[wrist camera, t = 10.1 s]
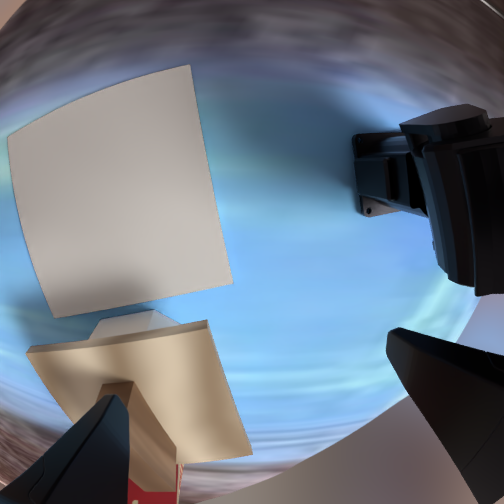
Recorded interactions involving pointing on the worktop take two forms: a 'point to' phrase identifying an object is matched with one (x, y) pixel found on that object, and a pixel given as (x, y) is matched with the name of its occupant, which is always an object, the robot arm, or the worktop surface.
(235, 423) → the lid
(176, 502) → the milk carton
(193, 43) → the worktop surface
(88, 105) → the tray
